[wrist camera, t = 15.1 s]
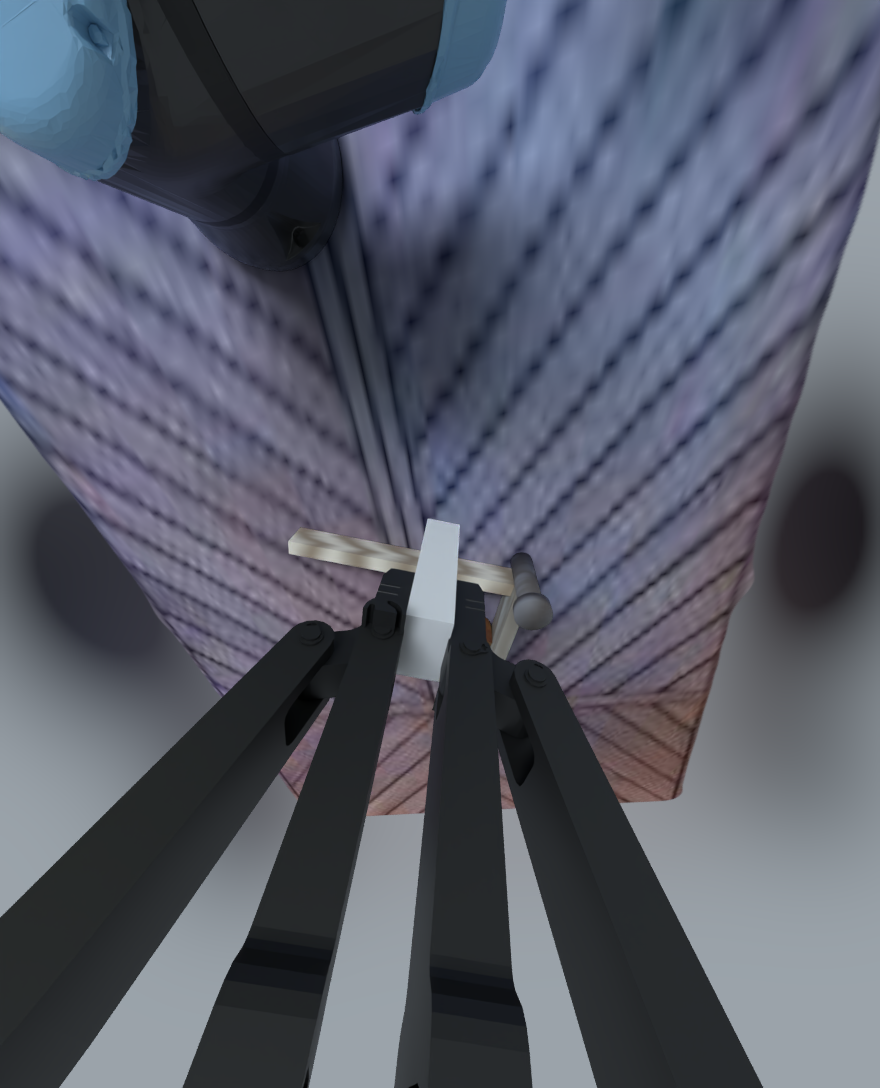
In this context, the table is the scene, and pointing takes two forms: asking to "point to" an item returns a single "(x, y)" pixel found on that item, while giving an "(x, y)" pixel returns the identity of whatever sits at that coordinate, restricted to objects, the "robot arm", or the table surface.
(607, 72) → the table surface
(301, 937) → the robot arm
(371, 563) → the bay
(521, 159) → the table surface
